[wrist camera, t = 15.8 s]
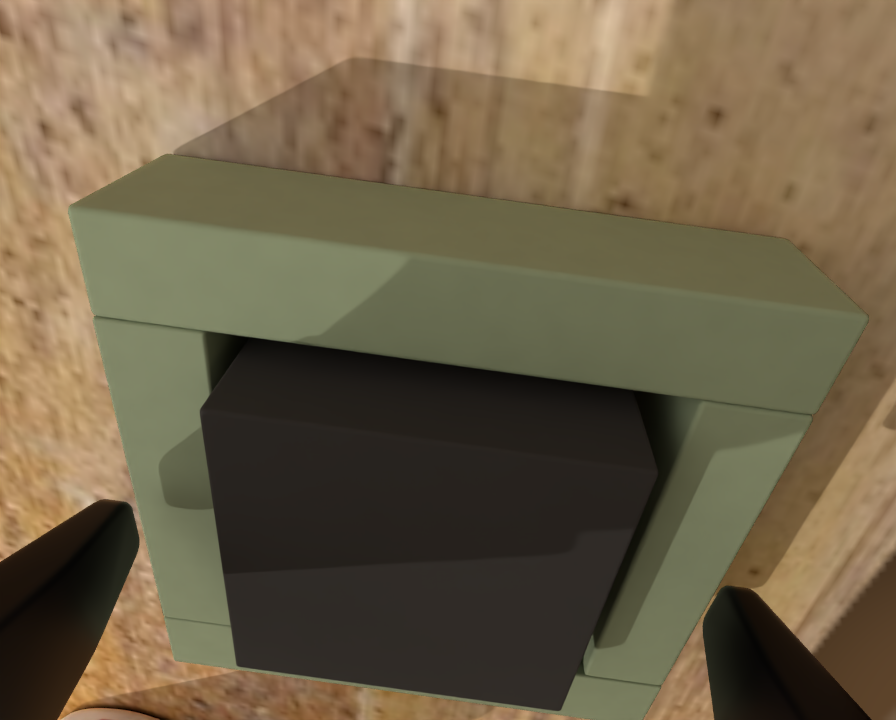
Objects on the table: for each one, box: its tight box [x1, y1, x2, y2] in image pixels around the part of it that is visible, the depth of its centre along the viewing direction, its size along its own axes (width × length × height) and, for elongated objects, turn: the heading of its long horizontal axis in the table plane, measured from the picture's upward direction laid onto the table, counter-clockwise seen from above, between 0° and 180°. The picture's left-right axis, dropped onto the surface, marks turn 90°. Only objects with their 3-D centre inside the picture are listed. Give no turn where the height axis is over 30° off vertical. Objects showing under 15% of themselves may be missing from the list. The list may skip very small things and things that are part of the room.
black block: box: [200, 337, 659, 711], centre depth 10 cm, size 6×6×4 cm
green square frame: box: [68, 154, 869, 720], centre depth 11 cm, size 10×10×2 cm
